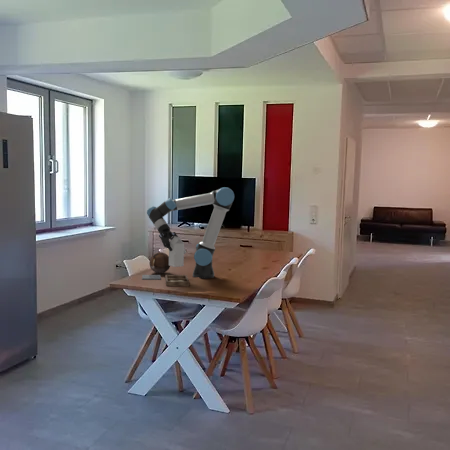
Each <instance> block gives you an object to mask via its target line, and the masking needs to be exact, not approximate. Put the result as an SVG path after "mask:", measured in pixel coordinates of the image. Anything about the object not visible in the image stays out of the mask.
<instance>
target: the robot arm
mask: <svg viewBox="0 0 450 450" xmlns="http://www.w3.org/2000/svg"><path fill="white" fill-rule="evenodd" d="M234 200H235V193H234V191H233V190H232V189H231V188H230V187H225V186H224V187H220V188H218V189H216V190H212V191H211V192H208V193H202V194H197V195H192V196H186V197H182V198H175V199H173V198H171V197H169V198H167V199H166V200H164V201H163V202H162V203H161V204H159V205H158V206H154V205H153V206H152V207H149V208H148V209H147V211H146V215H147V216H148V218H149V220H150V221H151V222H152V224H153V225H154V227H155V228H156V230H157V231H158V233H159V234H158V237H159V238H160V240H161V242H162V245H163V247H164V248H165V249H168V251H169V250H170V251H171V253H172V254H173V256H175V255H176V251H175V250H174V248H173V247H172V245H171V246H170V241H171V240H172V239H173V238H174V236H176V237H179V236H178V234H177V233H176V231H173V232H172V231H171V228H170V226H169V225H168V223H167V221H166V219H165V218H164V217H165V216H166V215H168V214H169V213H170V212H175V211H179V210H186V209H191V208H196V207H201V206H208V205H212V206H213V210H212V213H211V216H210V219H209V221H208V224H207V226H206V229H205V232H204V235H203V237H202V240H201V241H199V243H197V244H196V245H195V252H194V254H193V258H194V261H195V265H194V269H193V272H192V277H193V278H199V279H213V278H215V271H214V267H213V256H214V253H215V252H216V247H215V244H216V241H217V238H218V236H219V233H220V230H221V228H222V226H223V222H224V220H225V217H226V214H227V212H229V211H230V210H231V207H232V205H233V202H234ZM181 241H182V242H183V243H184V241H183V240H182V239H181ZM186 253H187V250H186V248H184V255H186Z"/></svg>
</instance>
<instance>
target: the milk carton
mask: <svg viewBox="0 0 450 450" xmlns="http://www.w3.org/2000/svg"><path fill="white" fill-rule="evenodd" d="M181 240H182V239H181V238H180V237H179V236H178V237H176V236H174V238H173V239H172V240H169V242H170V246H171V245H172V247H173V248H174V250H175V251H176V255H175V256H173V254H172V253H171V251H170V250H169V249H168V256H169V266H170V267H173V268H178V267H179V268H180V267H184V263H185V262H184V261H185V259H184V258H185V254H184V249H185V243H184V241H183V240H182V241H183V242H182V241H181Z"/></svg>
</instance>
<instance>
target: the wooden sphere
mask: <svg viewBox="0 0 450 450" xmlns="http://www.w3.org/2000/svg"><path fill="white" fill-rule="evenodd" d="M149 258H150V259H149V267H150V269H151V270H152V271H153V272H154V273H156V274H165V273H166V272H168V270H169V269H170V268H171V266H169V254H166V253H165V252H162V251H159V252H155V253H154V254H152V255H151V257H149Z"/></svg>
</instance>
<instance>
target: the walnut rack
mask: <svg viewBox="0 0 450 450" xmlns="http://www.w3.org/2000/svg"><path fill="white" fill-rule="evenodd" d="M164 280H165V287H190V281H189V280H190V279H189V278H188V275H186V274H183V275H182V274H165V278H164ZM176 280H183V281H176Z"/></svg>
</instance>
